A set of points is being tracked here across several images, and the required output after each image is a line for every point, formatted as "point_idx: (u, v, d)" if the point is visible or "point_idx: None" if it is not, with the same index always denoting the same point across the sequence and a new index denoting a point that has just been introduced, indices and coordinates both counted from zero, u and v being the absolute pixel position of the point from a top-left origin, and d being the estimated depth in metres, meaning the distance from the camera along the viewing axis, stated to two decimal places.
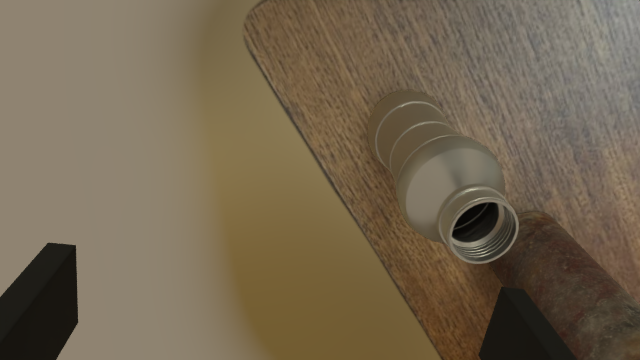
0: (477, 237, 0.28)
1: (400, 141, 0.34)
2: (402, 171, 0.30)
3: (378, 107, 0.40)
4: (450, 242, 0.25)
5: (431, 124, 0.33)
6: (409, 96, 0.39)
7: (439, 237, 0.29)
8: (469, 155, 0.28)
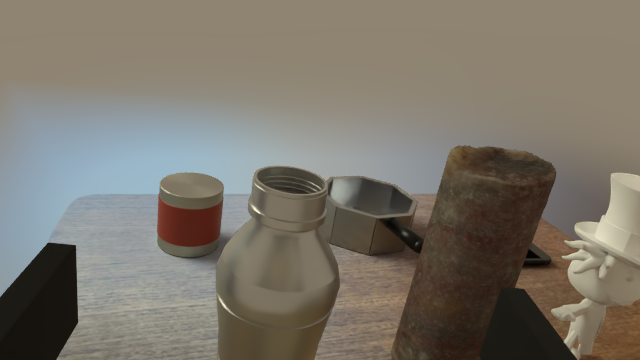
0: None
1: None
2: (238, 308, 0.24)
3: None
4: (294, 195, 0.23)
5: None
6: None
7: (316, 256, 0.24)
8: None
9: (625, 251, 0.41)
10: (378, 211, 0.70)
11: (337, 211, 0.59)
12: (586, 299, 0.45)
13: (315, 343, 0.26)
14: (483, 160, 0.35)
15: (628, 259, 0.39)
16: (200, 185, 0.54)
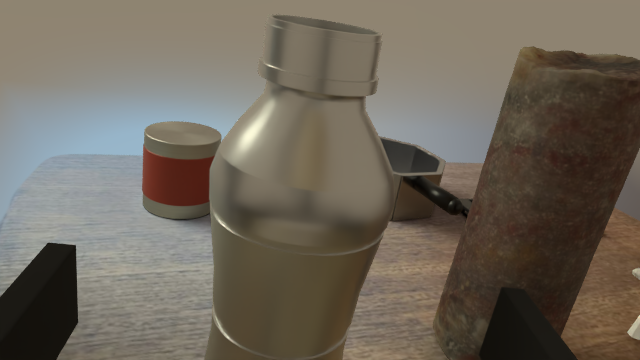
0: None
1: (226, 318, 0.18)
2: (245, 221, 0.15)
3: None
4: (333, 31, 0.14)
5: None
6: None
7: (365, 142, 0.16)
8: None
9: None
10: None
11: None
12: None
13: (359, 284, 0.17)
14: (564, 62, 0.27)
15: None
16: (193, 133, 0.45)
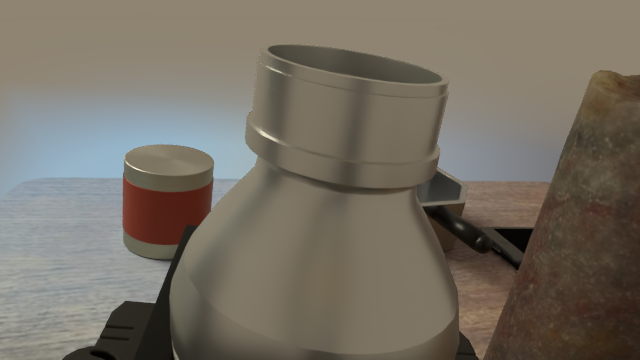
0: None
1: None
2: None
3: None
4: (374, 82, 0.08)
5: None
6: None
7: (420, 257, 0.10)
8: None
9: None
10: None
11: None
12: None
13: None
14: None
15: None
16: (181, 160, 0.39)
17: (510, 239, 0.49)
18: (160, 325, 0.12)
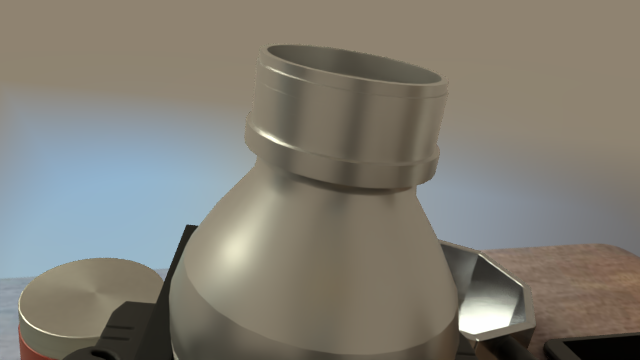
0: None
1: None
2: None
3: None
4: (374, 82, 0.08)
5: None
6: None
7: (420, 257, 0.10)
8: None
9: None
10: None
11: None
12: None
13: None
14: None
15: None
16: (114, 294, 0.25)
17: None
18: (160, 325, 0.12)
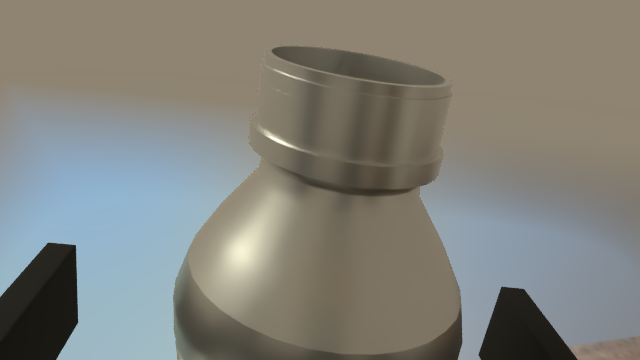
0: None
1: None
2: None
3: None
4: (378, 84, 0.08)
5: None
6: None
7: (423, 258, 0.10)
8: None
9: None
10: None
11: None
12: None
13: None
14: None
15: None
16: None
17: None
18: None
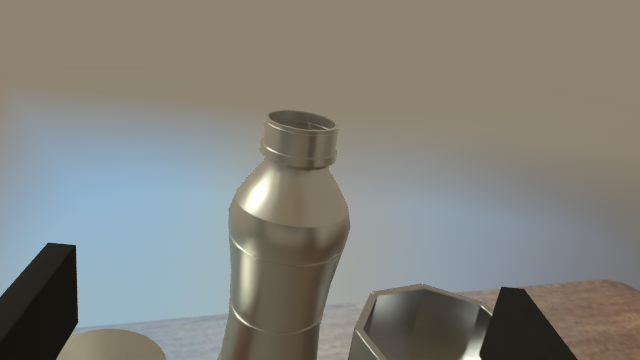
0: None
1: (240, 306, 0.27)
2: (252, 244, 0.25)
3: None
4: (305, 130, 0.23)
5: None
6: None
7: (327, 194, 0.25)
8: None
9: None
10: (451, 343, 0.41)
11: None
12: None
13: (326, 284, 0.27)
14: None
15: None
16: None
17: None
18: None
